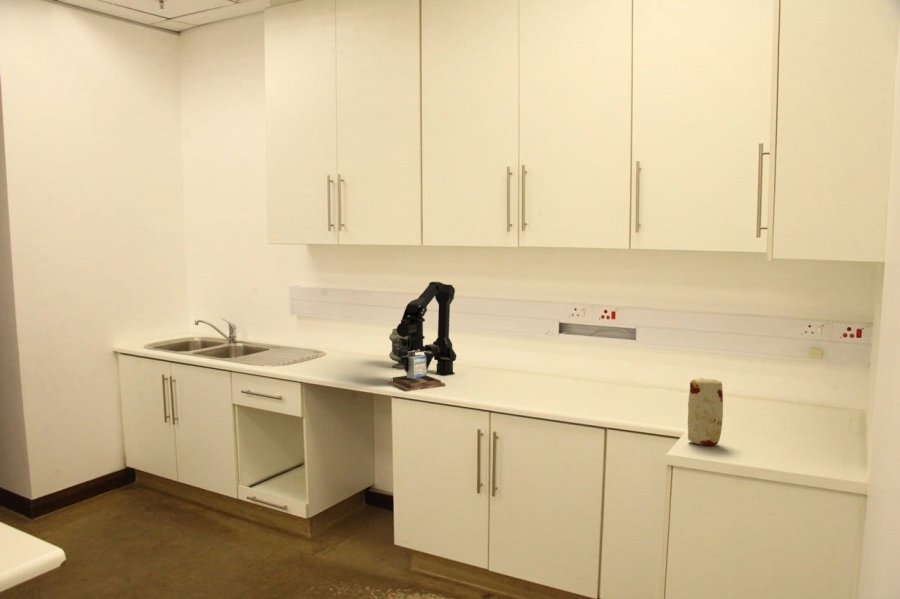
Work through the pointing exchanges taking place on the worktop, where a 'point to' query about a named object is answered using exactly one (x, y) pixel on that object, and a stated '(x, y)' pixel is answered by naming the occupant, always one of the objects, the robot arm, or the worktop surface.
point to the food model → (705, 411)
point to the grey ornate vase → (395, 344)
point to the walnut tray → (415, 383)
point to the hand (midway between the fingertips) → (416, 370)
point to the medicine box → (416, 367)
